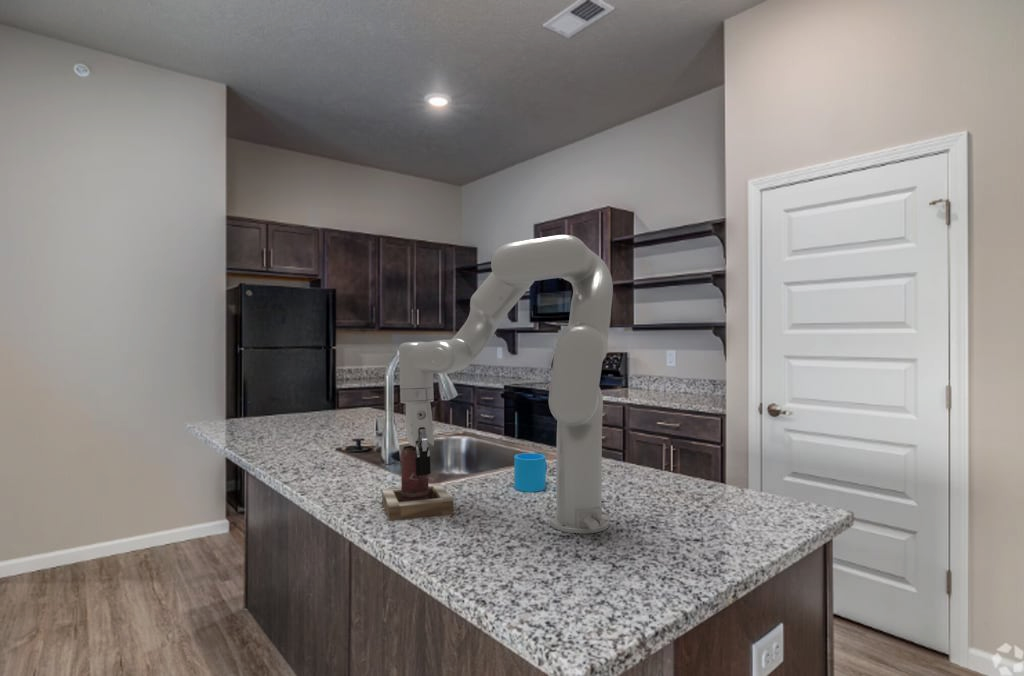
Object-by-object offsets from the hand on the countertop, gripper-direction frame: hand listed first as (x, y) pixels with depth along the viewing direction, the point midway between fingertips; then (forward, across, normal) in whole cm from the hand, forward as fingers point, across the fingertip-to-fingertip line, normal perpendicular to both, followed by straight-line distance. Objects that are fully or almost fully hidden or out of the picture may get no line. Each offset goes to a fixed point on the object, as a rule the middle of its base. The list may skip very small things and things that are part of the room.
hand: (419, 470), depth 126 cm
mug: (+10, +10, -32) cm, 35 cm away
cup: (+9, +2, +1) cm, 9 cm away
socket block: (+9, +1, +1) cm, 9 cm away
